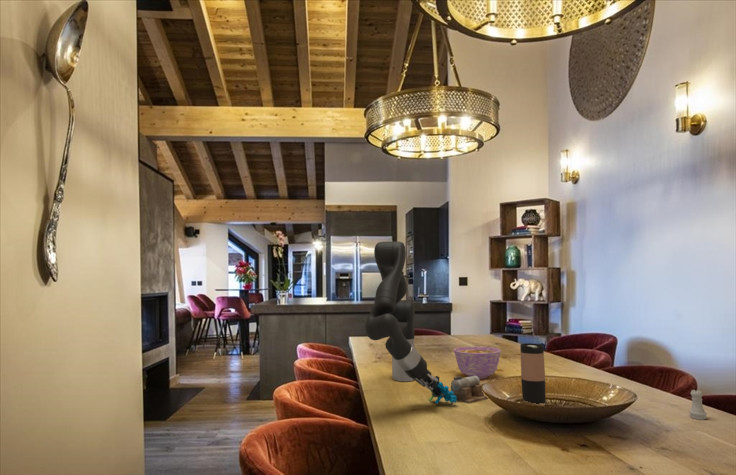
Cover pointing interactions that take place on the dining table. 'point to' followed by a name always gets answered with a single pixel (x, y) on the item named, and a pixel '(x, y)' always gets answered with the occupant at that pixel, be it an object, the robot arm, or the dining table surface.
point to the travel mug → (533, 372)
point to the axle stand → (467, 389)
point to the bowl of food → (477, 360)
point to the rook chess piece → (697, 406)
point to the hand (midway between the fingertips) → (438, 393)
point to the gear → (444, 394)
